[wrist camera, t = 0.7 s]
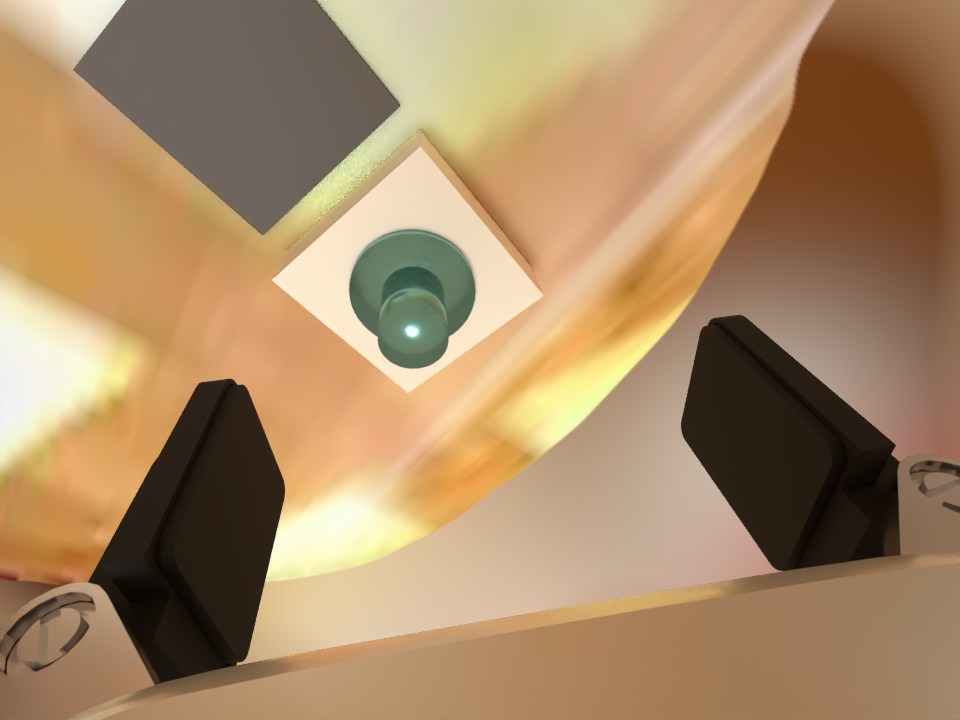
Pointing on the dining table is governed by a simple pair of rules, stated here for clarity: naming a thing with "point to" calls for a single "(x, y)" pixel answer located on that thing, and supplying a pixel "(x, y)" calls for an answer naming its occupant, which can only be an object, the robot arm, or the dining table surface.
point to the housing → (398, 206)
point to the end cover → (412, 294)
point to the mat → (240, 93)
